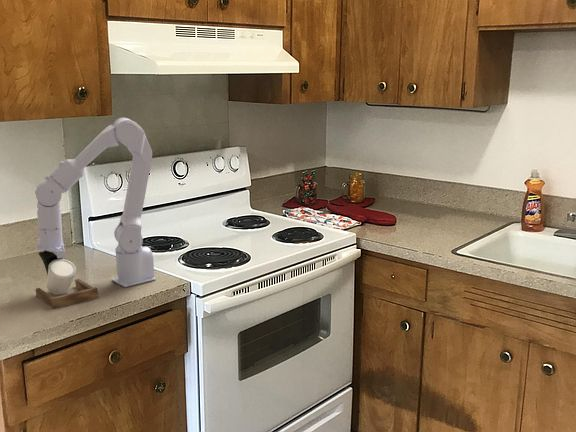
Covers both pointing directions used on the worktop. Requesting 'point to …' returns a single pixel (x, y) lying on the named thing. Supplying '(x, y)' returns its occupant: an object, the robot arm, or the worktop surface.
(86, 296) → the walnut bay
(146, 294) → the worktop surface
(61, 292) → the white cylinder
